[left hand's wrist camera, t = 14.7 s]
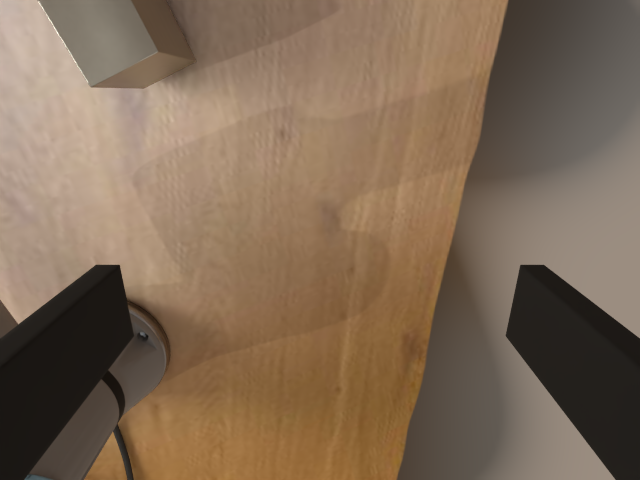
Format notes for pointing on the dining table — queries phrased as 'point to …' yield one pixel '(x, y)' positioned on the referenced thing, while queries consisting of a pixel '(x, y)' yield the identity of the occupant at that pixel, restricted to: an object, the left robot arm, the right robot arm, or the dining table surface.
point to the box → (120, 40)
